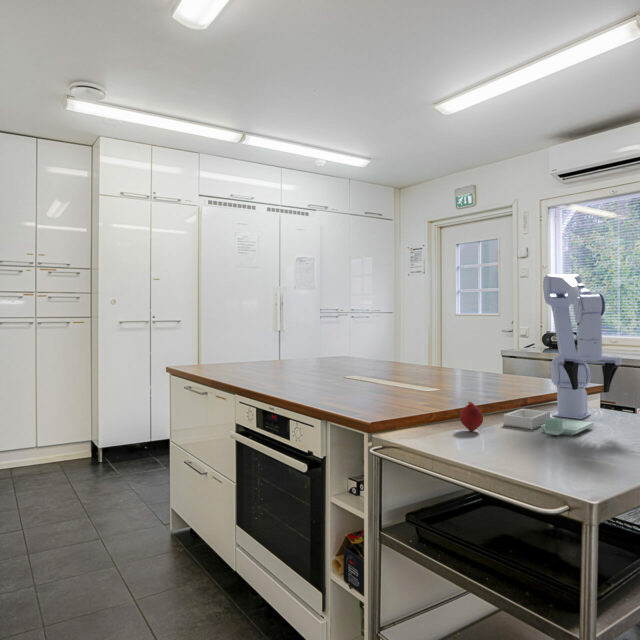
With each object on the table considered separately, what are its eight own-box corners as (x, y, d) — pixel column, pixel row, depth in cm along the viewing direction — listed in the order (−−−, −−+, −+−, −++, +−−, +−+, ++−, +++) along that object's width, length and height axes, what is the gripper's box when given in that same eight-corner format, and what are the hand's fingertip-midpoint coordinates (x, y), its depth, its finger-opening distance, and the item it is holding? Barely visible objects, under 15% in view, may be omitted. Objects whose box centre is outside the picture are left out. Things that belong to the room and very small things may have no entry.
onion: (480, 428, 133) (479, 399, 133) (485, 433, 127) (484, 403, 127) (458, 428, 133) (457, 399, 133) (462, 433, 128) (462, 403, 128)
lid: (559, 424, 137) (559, 408, 137) (593, 429, 130) (592, 412, 130) (533, 435, 125) (533, 418, 125) (569, 440, 119) (569, 422, 119)
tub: (522, 418, 145) (522, 408, 145) (550, 422, 139) (550, 412, 139) (503, 425, 136) (503, 414, 136) (532, 429, 131) (531, 418, 131)
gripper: (555, 339, 133) (556, 389, 133) (615, 340, 122) (616, 395, 122) (565, 338, 137) (566, 387, 137) (623, 339, 127) (624, 391, 127)
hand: (590, 390), depth 130 cm, fingers open, 7 cm apart
